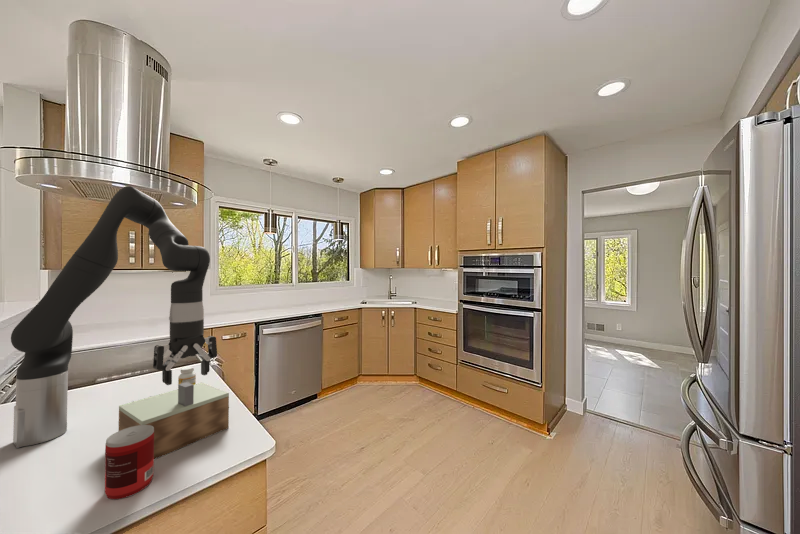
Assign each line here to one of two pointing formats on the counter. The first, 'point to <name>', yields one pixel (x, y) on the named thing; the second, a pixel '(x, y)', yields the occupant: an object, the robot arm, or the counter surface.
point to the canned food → (129, 461)
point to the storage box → (185, 426)
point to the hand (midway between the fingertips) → (187, 379)
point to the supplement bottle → (187, 376)
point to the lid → (172, 402)
